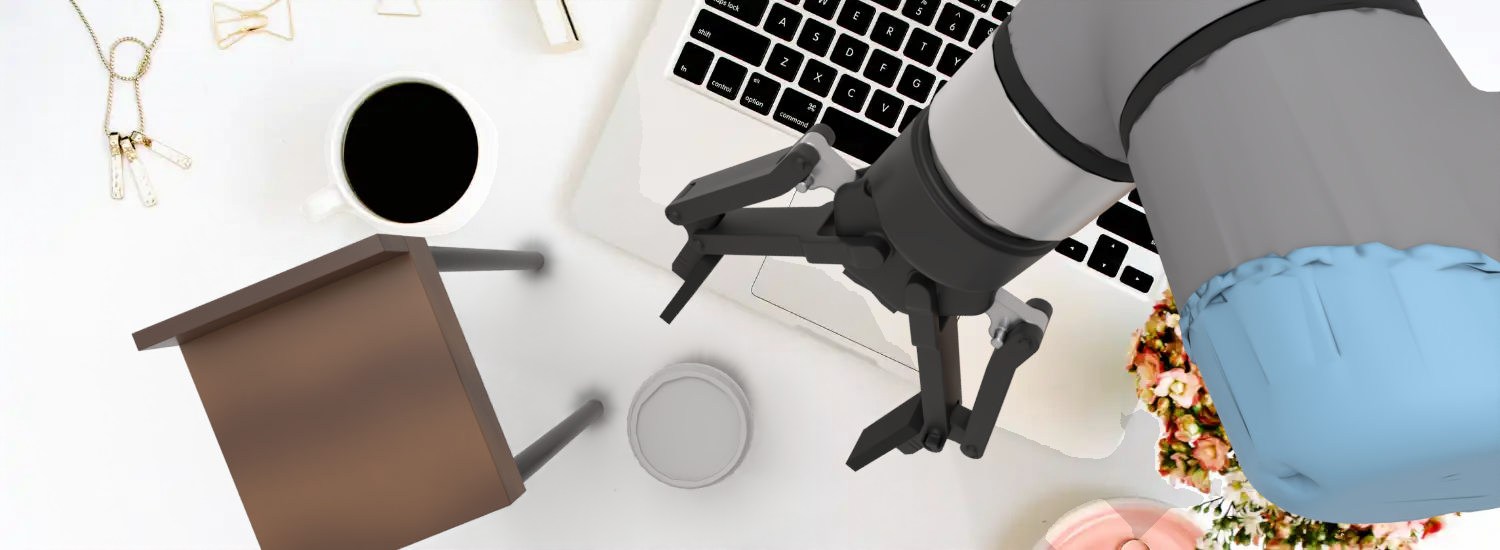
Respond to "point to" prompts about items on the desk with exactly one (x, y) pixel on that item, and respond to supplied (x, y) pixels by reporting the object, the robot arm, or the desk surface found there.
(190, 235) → the desk surface
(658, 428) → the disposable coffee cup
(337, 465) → the desk shelf
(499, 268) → the shelf legs
